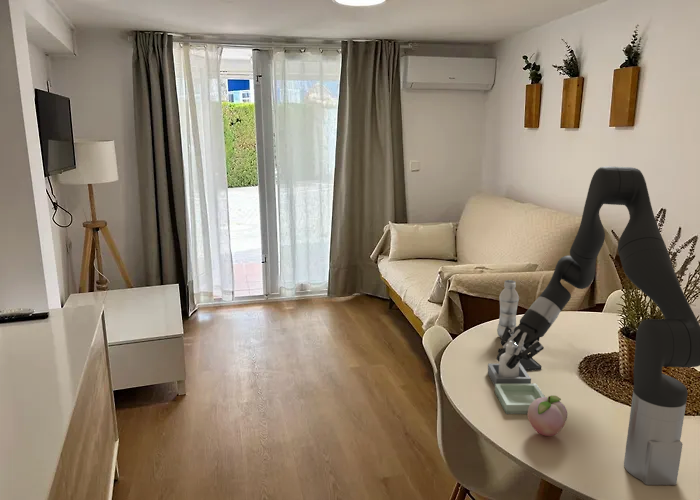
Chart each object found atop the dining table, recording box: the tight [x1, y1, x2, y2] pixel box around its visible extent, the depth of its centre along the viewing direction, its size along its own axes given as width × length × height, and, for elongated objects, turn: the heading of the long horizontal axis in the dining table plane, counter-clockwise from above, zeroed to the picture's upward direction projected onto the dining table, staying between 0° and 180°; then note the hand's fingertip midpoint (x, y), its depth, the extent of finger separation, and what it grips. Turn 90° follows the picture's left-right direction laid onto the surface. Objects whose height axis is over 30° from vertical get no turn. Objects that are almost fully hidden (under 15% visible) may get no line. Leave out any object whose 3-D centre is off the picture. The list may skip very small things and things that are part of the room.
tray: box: [494, 383, 546, 415], centre depth 134 cm, size 11×11×2 cm
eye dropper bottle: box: [498, 341, 520, 377], centre depth 145 cm, size 4×6×12 cm
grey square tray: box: [487, 363, 532, 387], centre depth 146 cm, size 9×9×3 cm
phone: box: [497, 347, 542, 372], centre depth 159 cm, size 8×1×15 cm
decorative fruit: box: [527, 395, 569, 437], centre depth 119 cm, size 9×8×10 cm
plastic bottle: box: [496, 279, 520, 339], centre depth 174 cm, size 6×7×20 cm
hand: (503, 364), depth 144 cm, fingers closed on eye dropper bottle, 3 cm apart
